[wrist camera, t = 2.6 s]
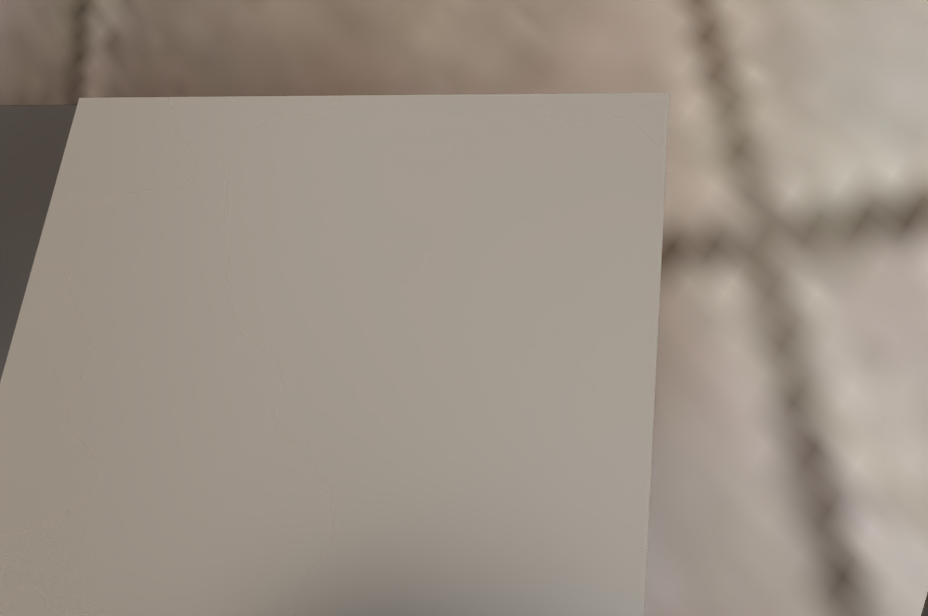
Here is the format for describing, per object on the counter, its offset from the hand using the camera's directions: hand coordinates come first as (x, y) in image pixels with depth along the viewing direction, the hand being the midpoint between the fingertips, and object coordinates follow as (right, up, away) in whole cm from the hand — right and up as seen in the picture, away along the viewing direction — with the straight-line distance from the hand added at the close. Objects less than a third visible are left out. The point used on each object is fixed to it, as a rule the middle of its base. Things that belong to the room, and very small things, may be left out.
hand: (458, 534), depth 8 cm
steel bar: (+2, -2, +8) cm, 8 cm away
